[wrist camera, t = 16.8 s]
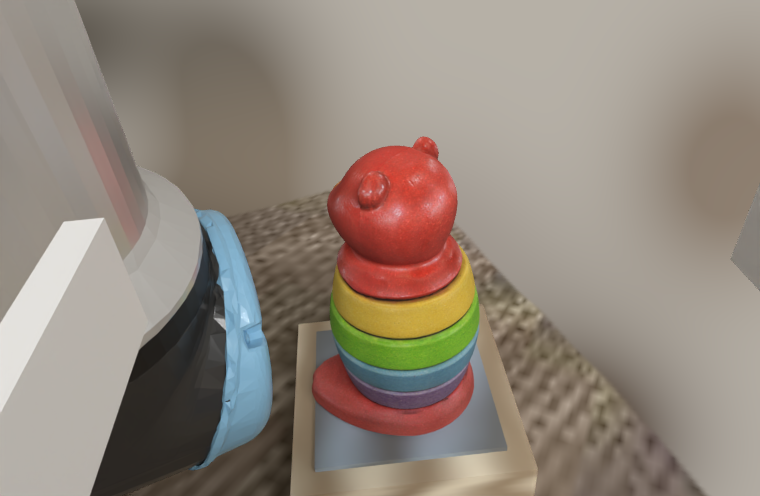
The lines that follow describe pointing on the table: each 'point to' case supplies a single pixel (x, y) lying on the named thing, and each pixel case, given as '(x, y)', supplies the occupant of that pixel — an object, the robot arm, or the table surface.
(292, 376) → the table surface
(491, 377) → the plinth
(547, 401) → the table surface
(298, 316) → the table surface
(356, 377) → the stacking bear
